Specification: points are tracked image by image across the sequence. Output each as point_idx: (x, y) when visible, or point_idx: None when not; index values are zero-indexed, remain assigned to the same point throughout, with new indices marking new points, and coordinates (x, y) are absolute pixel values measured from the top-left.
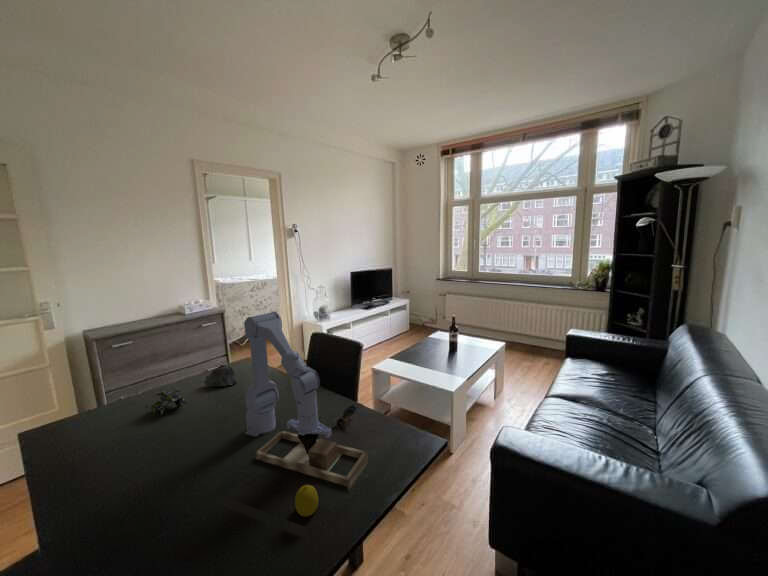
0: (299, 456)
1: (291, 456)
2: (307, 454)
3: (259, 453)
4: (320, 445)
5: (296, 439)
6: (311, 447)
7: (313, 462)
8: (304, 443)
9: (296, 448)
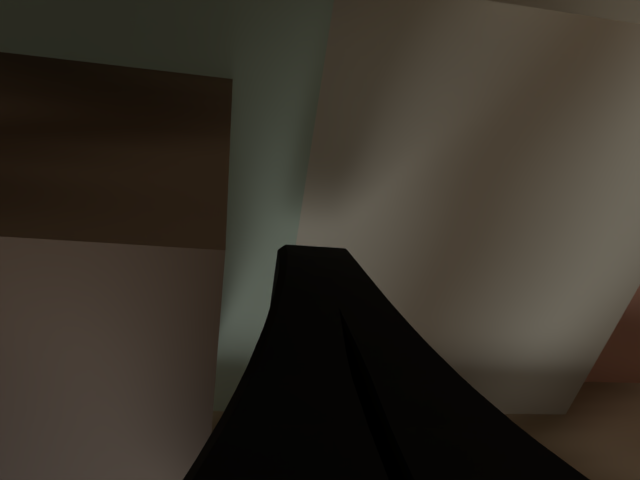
0: (489, 228)
1: (608, 200)
2: (343, 251)
3: None
4: (20, 475)
5: (621, 441)
6: (208, 373)
7: (113, 100)
8: (442, 434)
9: (577, 336)
